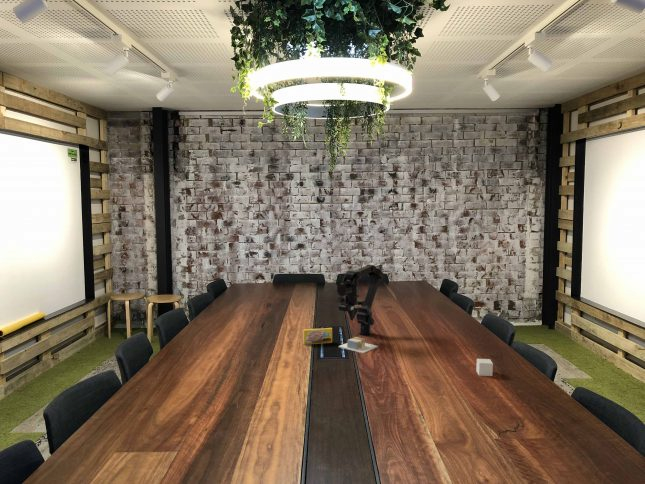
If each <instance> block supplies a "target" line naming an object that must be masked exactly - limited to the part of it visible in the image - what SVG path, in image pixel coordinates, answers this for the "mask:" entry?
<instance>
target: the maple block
mask: <svg viewBox="0 0 645 484" xmlns="http://www.w3.org/2000/svg"><path fill="white" fill-rule="evenodd" d="M346 341H347V342H346V343H347V348H351V349H355V350H357V349H359V348H362V347H364V346H365V343H366V338H363V337H358V336H354V337H351V338H349V339H347V340H346Z"/></svg>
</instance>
